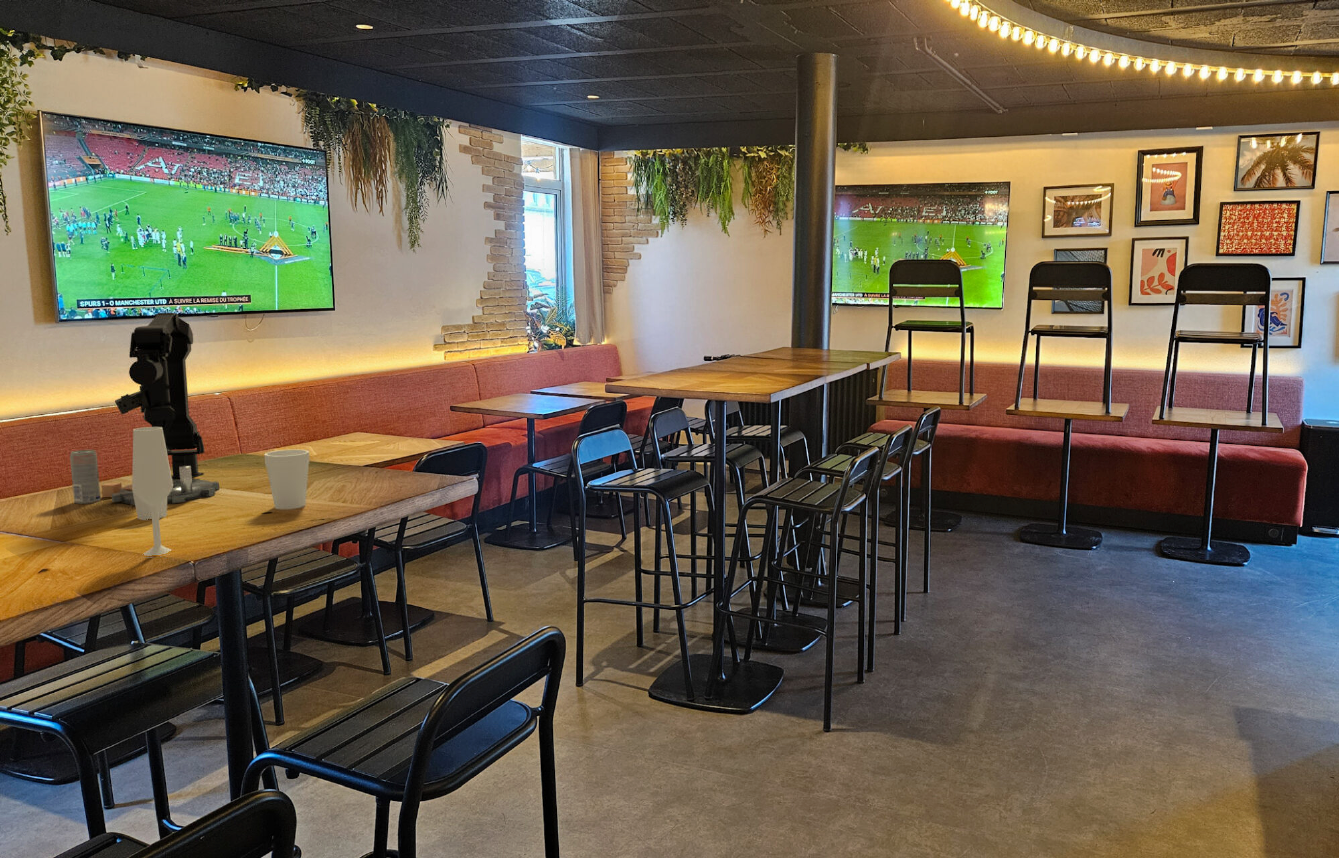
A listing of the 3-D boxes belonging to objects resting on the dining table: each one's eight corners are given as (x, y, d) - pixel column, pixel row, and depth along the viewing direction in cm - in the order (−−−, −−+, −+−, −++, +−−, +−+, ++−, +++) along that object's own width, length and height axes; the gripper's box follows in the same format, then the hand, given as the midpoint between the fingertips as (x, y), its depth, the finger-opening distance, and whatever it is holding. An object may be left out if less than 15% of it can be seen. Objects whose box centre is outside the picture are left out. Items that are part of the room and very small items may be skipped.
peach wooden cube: (110, 494, 236) (109, 482, 235) (122, 495, 236) (121, 483, 235) (102, 497, 233) (101, 485, 232) (114, 497, 233) (113, 485, 232)
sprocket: (220, 482, 248) (217, 452, 247) (218, 500, 227) (216, 466, 226) (117, 490, 239) (115, 458, 237) (106, 509, 218) (103, 474, 217)
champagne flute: (151, 550, 185) (140, 426, 181) (185, 550, 184) (175, 426, 181) (130, 560, 178) (119, 431, 175) (166, 560, 178) (155, 431, 174)
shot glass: (176, 515, 214) (174, 484, 213) (157, 522, 208) (155, 490, 207) (147, 514, 215) (145, 483, 214) (127, 521, 208) (124, 489, 207)
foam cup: (260, 509, 219) (257, 453, 217) (300, 503, 225) (296, 448, 224) (280, 516, 212) (276, 458, 210) (320, 509, 219) (316, 452, 217)
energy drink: (97, 498, 232) (92, 448, 231) (103, 501, 228) (99, 451, 227) (71, 501, 229) (66, 451, 227) (77, 505, 225) (73, 454, 223)
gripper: (114, 378, 232) (120, 442, 235) (116, 386, 217) (123, 455, 219) (166, 376, 238) (171, 438, 241) (172, 383, 222) (178, 450, 225)
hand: (160, 445), depth 231 cm, fingers closed
